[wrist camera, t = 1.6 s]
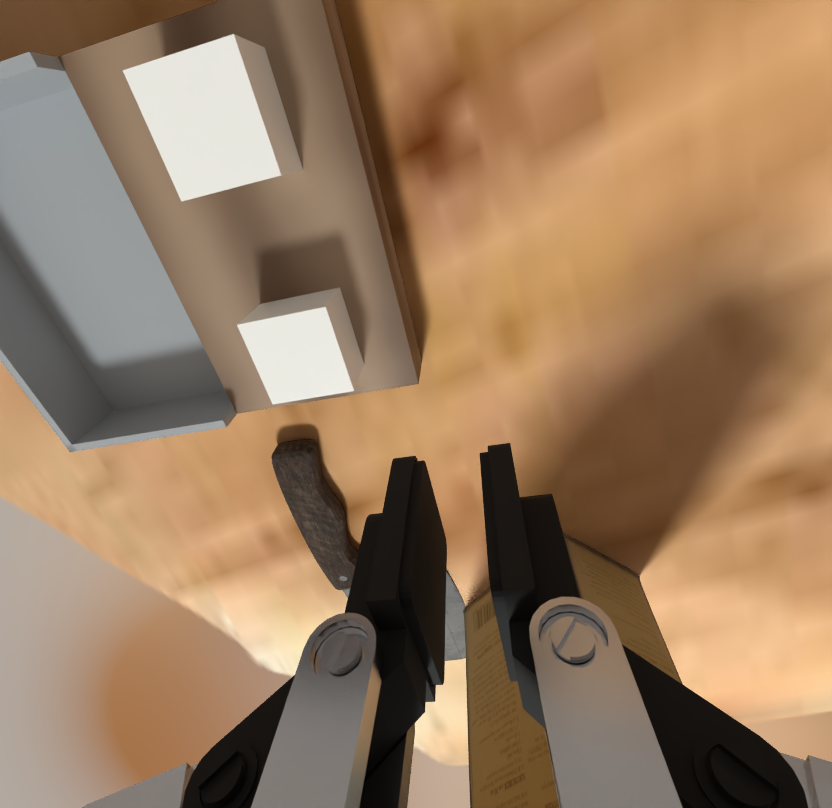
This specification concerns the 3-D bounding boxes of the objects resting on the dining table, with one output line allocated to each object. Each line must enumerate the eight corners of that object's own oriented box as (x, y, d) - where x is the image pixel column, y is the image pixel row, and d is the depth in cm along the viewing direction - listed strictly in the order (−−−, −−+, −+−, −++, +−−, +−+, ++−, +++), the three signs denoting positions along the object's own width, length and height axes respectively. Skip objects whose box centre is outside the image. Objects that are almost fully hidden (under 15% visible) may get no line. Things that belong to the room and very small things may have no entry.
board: (332, -11, 19) (313, -32, 17) (421, 360, 28) (418, 383, 26) (105, 65, 21) (58, 56, 19) (255, 389, 30) (236, 413, 28)
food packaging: (538, 648, 43) (619, 1150, 22) (458, 611, 41) (462, 1126, 20) (645, 576, 37) (905, 1182, 16) (557, 528, 35) (717, 1151, 14)
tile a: (339, 287, 23) (325, 306, 21) (364, 364, 25) (354, 391, 23) (260, 303, 24) (236, 324, 21) (290, 377, 26) (272, 404, 24)
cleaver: (249, 448, 33) (238, 467, 32) (368, 413, 31) (362, 431, 29) (400, 659, 47) (398, 681, 46) (490, 646, 45) (492, 668, 43)
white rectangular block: (264, 47, 18) (233, 33, 16) (303, 169, 20) (281, 175, 18) (167, 78, 19) (122, 70, 16) (214, 193, 21) (181, 201, 19)
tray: (105, 65, 21) (29, 51, 18) (255, 389, 30) (226, 427, 26) (-75, 125, 23) (-179, 125, 20) (115, 413, 32) (69, 452, 28)
